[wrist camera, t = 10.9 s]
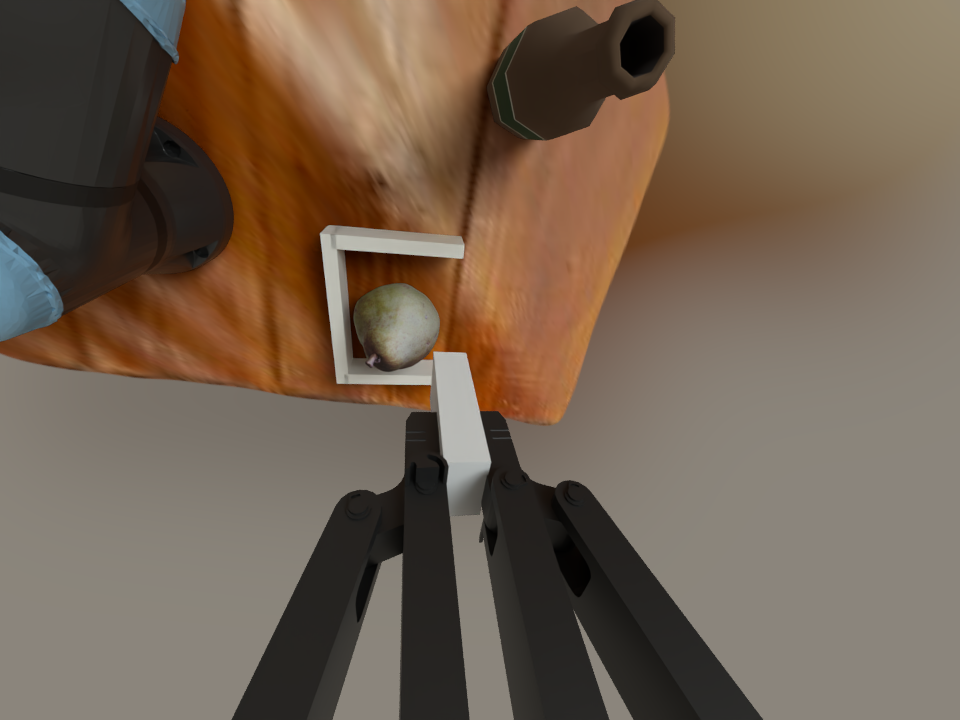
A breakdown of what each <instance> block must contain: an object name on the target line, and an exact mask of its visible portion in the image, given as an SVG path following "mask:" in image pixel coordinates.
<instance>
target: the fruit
mask: <svg viewBox="0 0 960 720" xmlns="http://www.w3.org/2000/svg"><path fill="white" fill-rule="evenodd" d="M354 324H355V328H356V332H357V335H358V338H359V341H360V342H361V344H362V346H363V348H364V352H365V355H366V357H367V361H366V362H365V364H366V365H367V366H368V367H370V368H372V367H373V366H374V367H376V368H377V369H379V370H381V371H384V372H392V371H395V370H398V369H405V368H408V367H412V366H414V365H415V364H417V363H418V362H420V361H421V360H422V359H423V358H425V357H426V356H427V355H428V354H429V352H430V351H431V349H432V348H433V346H434V344H435V342H436V340H437V337H438V333H439V326H440V320H439V315H438V313H437V311H436V309H435V307H434V306H433V304H432V302H431V301H430V300H429V299H428V297H427V296H425V295H424V294H423V293H421V292H420V291H418V290H416V289H415V288H413V287H412V286H410V285H408V284H404V283H396V284H389V285H385V286H381V287H378V288H376V289H374V290H372V291H370V292H369V293H367V294H366V295H364V296H363V297H361V298H360V299H359V300H358V301H357V303H356V305H355V309H354Z"/></svg>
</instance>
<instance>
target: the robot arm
mask: <svg viewBox="0 0 960 720" xmlns="http://www.w3.org/2000/svg"><path fill="white" fill-rule="evenodd" d="M185 5H186V0H0V342H1V341H4V340H8V339H11V338H13V337H16V336H19V335H21V334H24V333H27V332H29V331H32V330H35V329H37V328H42V327H46V326H49V325H51V324H52V323H54V322H56V321H58V320H57V319H59V318H61V316H62V315H64V314H66V313H68V312H70V311H72V310H74V309H76V308H78V307H80V306H82V305H84V304H86V303H88V302H90V301H91V300H93V299H95V298H97V297H99V296H101V295H103V294H105V293H107V292H109V291H111V290H113V289H115V288H117V287H119V286H121V285H122V284H124V283H126V282H128V281H130V280H132V279H134V278H136V277H138V276H140V275H142V274H173V273H181V272H186V271H189V270H193V269H195V268H198V267H200V266H202V265H204V264H205V263H207V262H209V261H210V260H212V259H214V258H215V257H216V256H217V255H219V254H220V253H221V252H222V251H223V249H224V248H225V247H226V245H227V243H228V241H229V239H230V237H231V234H232V229H233V220H234V217H233V207H232V202H231V198H230V195H229V192H228V189H227V187H226V184H225V182H224V180H223V178H222V176H221V175H220V173H219V171H218V170H217V168H216V166H215V165H214V164H213V162H212V161H211V160H210V158H209V157H208V156H207V155H206V154H205V152H204V151H203V150H202V149H201V148H200V147H199V146H198V145H197V144H196V143H195V142H194V141H193V140H192V139H191V138H189V137H188V136H187V135H186V134H185V133H183V132H182V131H181V130H179V129H178V128H176V127H175V126H173V125H172V124H170V123H169V122H167V121H165V120H163V119H161V118H160V117H158V116H157V115H158V111H159V108H160V104H161V100H162V97H163V93H164V89H165V86H166V82H167V79H168V75H169V71H170V68H171V64H172V62H173V63H174V64H177V63H178V60H179V55H178V52H177V50H176V47H177V43H178V38H179V34H180V29H181V24H182V20H183V15H184V11H185ZM430 403H431V412H412V413H411V414H410V416H409V417H408V419H407V420H406V441H405V474H404V477H403V479H402V481H401V482H400V483H399V484H398V486H396V487H395V488H393V489H392V490H389V491H387V492H384V493H381V494H379V495H376V494H375V493H373V492H370V491H368V490H357V491H353V492H350V493H348V494H347V495H345V496H344V497H342V498H341V499H340V501H339V502H338V503H337V505H336V506H335V508H334V511H333V513H332V515H331V517H330V519H329V521H328V523H327V525H326V527H325V529H324V531H323V533H322V535H321V537H320V539H319V541H318V543H317V546H316V547H315V549H314V552H313V554H312V556H311V558H310V560H309V562H308V564H307V566H306V568H305V570H304V572H303V574H302V576H301V578H300V580H299V582H298V584H297V586H296V588H295V591H294V593H293V595H292V597H291V599H290V601H289V603H288V605H287V607H286V609H285V611H284V613H283V615H282V617H281V619H280V622H279V624H278V625H277V628H276V630H275V632H274V634H273V636H272V638H271V640H270V642H269V644H268V646H267V648H266V650H265V652H264V654H263V656H262V658H261V661H260V662H259V665H258V667H257V669H256V671H255V673H254V675H253V677H252V679H251V681H250V683H249V685H248V687H247V689H246V691H245V693H244V695H243V698H242V699H241V701H240V704H239V706H238V708H237V710H236V712H235V714H234V716H233V718H232V720H332V719H333V716H334V712H335V709H336V706H337V703H338V700H339V697H340V693H341V690H342V687H343V684H344V681H345V677H346V674H347V671H348V668H349V665H350V661H351V658H352V655H353V652H354V649H355V645H356V642H357V639H358V636H359V633H360V630H361V626H362V623H363V620H364V617H365V614H366V610H367V607H368V604H369V601H370V597H371V594H372V591H373V588H374V585H375V582H376V579H377V575H378V572H379V569H380V566H381V563H382V561H385V560H387V559H390V558H392V557H394V556H397V555H399V554H401V553H403V564H402V612H401V614H402V615H401V660H400V662H401V663H400V710H399V712H400V713H399V720H469V710H468V699H467V689H466V679H465V668H464V658H463V648H462V639H461V628H460V618H459V607H458V598H457V597H458V596H457V586H456V576H455V566H454V555H453V545H452V535H451V525H450V516H461V515H462V516H463V515H479V514H480V511H481V506H482V510H483V515H484V519H483V523H482V528H481V532H480V537H479V538H480V539H479V542H482V541H483V537H484V543H485V549H486V555H487V561H488V567H489V573H490V579H491V585H492V591H493V597H494V603H495V609H496V614H497V621H498V627H499V633H500V639H501V644H502V651H503V656H504V663H505V669H506V674H507V680H508V686H509V692H510V698H511V704H512V710H513V716H514V720H609V717H608V714H607V711H606V708H605V705H604V703H603V699H602V696H601V693H600V690H599V687H598V684H597V681H596V678H595V675H594V672H593V669H592V666H591V662H590V659H589V656H588V653H587V650H586V647H585V644H584V641H583V638H582V635H581V632H580V629H579V626H578V623H577V620H576V617H575V614H574V611H575V613H576V615H577V617H578V619H579V620H580V622H581V624H582V626H583V628H584V630H585V631H586V633H587V635H588V637H589V639H590V641H591V642H592V644H593V646H594V648H595V650H596V651H597V653H598V655H599V657H600V659H601V661H602V663H603V664H604V666H605V668H606V670H607V672H608V674H609V675H610V677H611V679H612V681H613V683H614V685H615V687H616V688H617V690H618V692H619V694H620V695H621V698H622V699H623V701H624V703H625V705H626V707H627V709H628V710H629V712H630V714H631V716H632V717H633V719H634V720H763V719H762V717H761V716H760V715H759V713H758V712H757V711H756V710H755V709H754V707H753V706H752V704H751V703H750V702H749V700H748V699H747V698H746V696H745V695H744V694H743V692H742V691H741V690H740V688H739V687H738V686H737V684H736V683H735V682H734V680H733V679H732V678H731V676H730V675H729V674H728V673H727V671H726V670H725V669H724V667H723V666H722V665H721V663H720V662H719V661H718V659H717V658H716V657H715V655H714V654H713V653H712V651H711V650H710V649H709V647H708V646H707V645H706V643H705V642H704V641H703V639H702V638H701V637H700V635H699V634H698V633H697V631H696V630H695V629H694V628H693V626H692V625H691V624H690V622H689V621H688V620H687V618H686V617H685V616H684V614H683V613H682V612H681V610H680V609H679V608H678V606H677V605H676V604H675V602H674V601H673V600H672V598H671V597H670V596H669V594H668V593H667V592H666V591H665V589H664V588H663V587H662V585H661V584H660V583H659V581H658V580H657V579H656V577H655V576H654V575H653V573H652V572H651V571H650V569H649V568H648V567H647V565H646V564H645V563H644V561H643V560H642V559H641V557H640V556H639V555H638V553H637V552H636V551H635V550H634V548H633V547H632V546H631V544H630V543H629V542H628V540H627V539H626V538H625V536H624V535H623V534H622V532H621V531H620V530H619V528H618V527H617V526H616V525H615V523H614V522H613V520H612V519H611V518H610V516H609V515H608V514H607V512H606V511H605V510H604V509H603V507H602V506H601V505H600V503H599V502H598V501H597V500H596V498H595V497H594V495H593V494H592V493H591V492H590V490H589V489H588V488H587V487H585V486H584V485H582V484H580V483H579V482H575V481H571V480H569V481H563V482H561V483H559V484H558V485H557V487H556V488H554V487H550V486H546V485H542V484H539V483H536V482H534V481H532V480H531V479H530V478H529V476H528V475H527V474H526V473H525V472H524V471H523V470H522V469H521V467H520V464H519V461H518V458H517V455H516V452H515V448H514V445H513V442H512V439H511V436H510V432H509V431H508V430H509V429H508V426H507V423H506V420H505V419H504V417H503V416H502V415H501V414H500V413H499V412H498V411H479V407H478V403H477V398H476V394H475V390H474V386H473V381H472V377H471V373H470V368H469V364H468V360H467V355H466V353H455V352H434V355H433V368H432V381H431V394H430ZM573 609H574V611H573Z"/></svg>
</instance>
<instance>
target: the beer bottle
mask: <svg viewBox="0 0 960 720" xmlns="http://www.w3.org/2000/svg"><path fill="white" fill-rule="evenodd" d="M674 54H675V17H674V16H673V15H672V14H671V13H670V12H669V11H668V10H667V9H666V8H665V7H664V6H663V5H662V4H661V3H660V2H659V1H658V0H635V1H632V2H629V3H626V4H624V5H621V6H618V7H615V9H614V11H613V13H612V14H611V16H610V18H609V20H608V21H606V22H603V23H601V24H598V23H596V22H595V21H594V20H593V19H592V18H591V17H590V16H588V15H587V14H586V13H585V12H584V11H583V10H581V9H580V8H578V7H577V6H576V7H573V8H571V9H568V10H565V11H562V12H560V13H557V14H554V15H552V16H549V17H546V18H543V19H541V20H538V21H535V22H533V23H532V24H530V25H528V26H527V27H526V28H525V29H524V30H523V31H522V32H521V33H520V34H519V35H518V36H517V37H516V38H515V39H514V40H513V41H512V42H511V43H510V44H509V45H508V46H507V47H506V48H505V49H504V51H503V52H502V54H501V56H500V58H499V60H498V63H497V65H496V67H495V70H494V72H493V74H492V76H491V79H490V81H489V83H488V85H487V92H488V96H489V101H490V105H491V110H492V114H493V118H494V122H496V123H497V124H499V125H500V126H502V127H503V128H505V129H506V130H508V131H509V132H511V133H512V134H514V135H515V136H517V137H518V138H521V139H532V140H550V139H554V138H557V137H560V136H563V135H566V134H568V133H571V132H574V131H577V130H580V129H583V128H586V127H588V126H590V124H591V122H592V121H593V119H594V118H595V116H596V114H597V112H598V111H599V109H600V107H601V105H602V104H603V102H604V100H605V98H606V97H608V96H611V95H615V96H616V97H618V98H619V99H620V100H622V99H625V98H628V97H631V96H633V95H636V94H639V93H642V92H645V91H648V90H649V89H651V88H652V87H653V86H654V85H655V84H656V83H657V81H658V80H659V78H660V76H661V75H662V73H663V71H664V70H665V68H666V67H667V65H668V63H669V61H670V60H671V59H672V57H673V55H674Z"/></svg>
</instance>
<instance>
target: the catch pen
mask: <svg viewBox="0 0 960 720" xmlns="http://www.w3.org/2000/svg"><path fill="white" fill-rule="evenodd" d="M320 238H321V247H322V256H323V265H324V274H325V282H326V291H327V300H328V309H329V318H330V327H331V336H332V345H333V353H334V362H335V371H336V380H337V384H395V385H431V381H432V368H433V360H421V361H420V362H418V363H417V364H415V365H414V366H412V367H408V368H405V369H398V370H395V371H392V372H384V371H381V370H379V369H377V368H376V367H374V366H373V367H372V368H370V367H368V366H367V365H366V364H365V362H366V361H367V358H353V350H352V337H351V325H350V313H349V300H348V288H347V275H346V263H345V250H354V251H367V252H381V253H394V254H407V255H420V256H434V257H447V258H460V259H463V256H464V243H463V240H462V237H461V236H451V235H439V234H427V233H416V232H404V231H393V230H381V229H369V228H358V227H346V226H334V225H328V226H327V227H326V228H325V229H324V230H323V231H322V232H321V233H320Z"/></svg>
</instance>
